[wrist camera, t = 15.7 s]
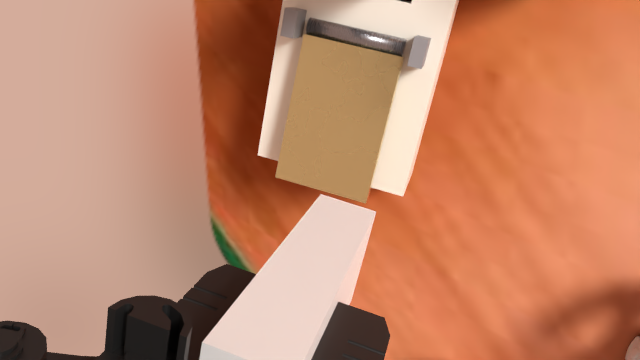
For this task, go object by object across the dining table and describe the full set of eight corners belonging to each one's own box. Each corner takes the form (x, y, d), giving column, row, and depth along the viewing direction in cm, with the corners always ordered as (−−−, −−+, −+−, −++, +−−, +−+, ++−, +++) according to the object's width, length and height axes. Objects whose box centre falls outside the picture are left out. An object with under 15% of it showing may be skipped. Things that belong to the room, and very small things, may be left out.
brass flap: (311, 17, 33) (306, 16, 32) (409, 39, 32) (407, 39, 31) (279, 174, 36) (274, 177, 35) (368, 199, 34) (365, 203, 34)
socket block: (329, -129, 35) (297, -157, 29) (486, -101, 33) (488, -126, 27) (282, 138, 41) (247, 162, 35) (411, 173, 39) (399, 206, 33)
